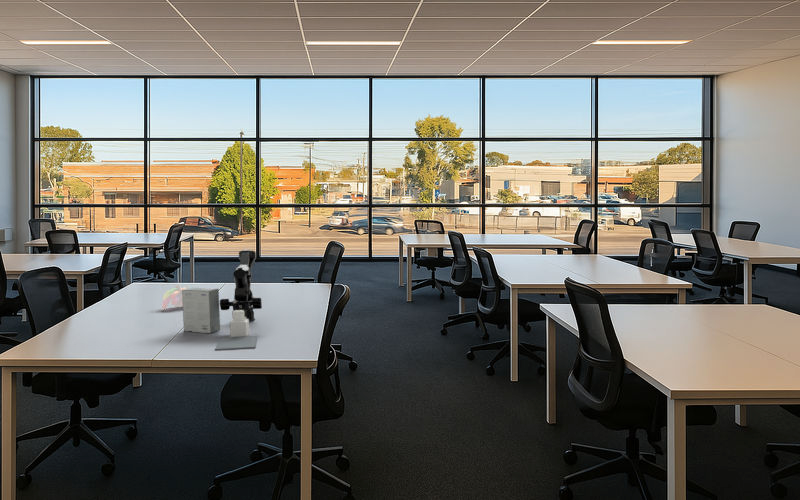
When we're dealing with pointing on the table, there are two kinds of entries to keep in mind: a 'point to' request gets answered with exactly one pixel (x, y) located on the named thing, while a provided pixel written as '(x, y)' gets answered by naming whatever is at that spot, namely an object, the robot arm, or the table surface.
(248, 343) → the mat
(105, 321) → the table surface
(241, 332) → the medicine bottle
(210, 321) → the hard drive box
